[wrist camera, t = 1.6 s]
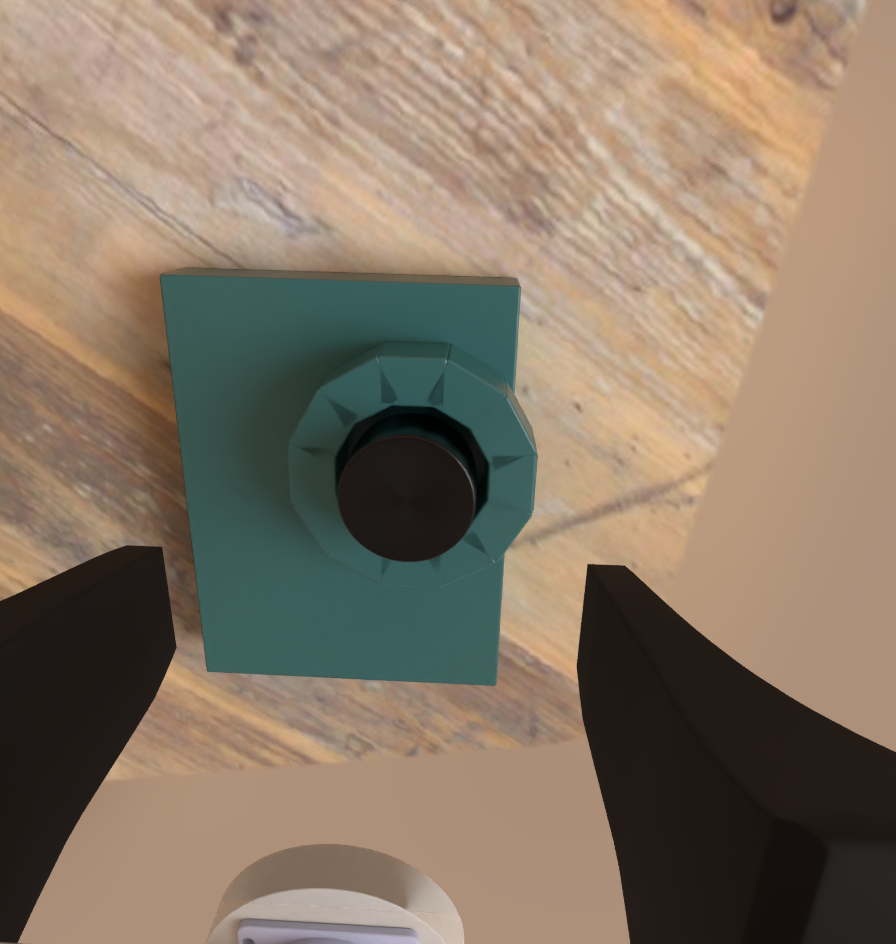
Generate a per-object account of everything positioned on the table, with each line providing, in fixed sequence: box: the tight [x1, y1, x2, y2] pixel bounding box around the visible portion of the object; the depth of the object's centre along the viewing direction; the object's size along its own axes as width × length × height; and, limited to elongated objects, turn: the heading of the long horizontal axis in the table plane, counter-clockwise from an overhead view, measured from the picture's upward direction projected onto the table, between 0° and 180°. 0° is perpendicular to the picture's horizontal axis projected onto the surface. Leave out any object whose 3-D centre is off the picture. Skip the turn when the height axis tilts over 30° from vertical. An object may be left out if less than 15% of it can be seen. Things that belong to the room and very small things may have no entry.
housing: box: [160, 268, 538, 686], centre depth 20 cm, size 12×10×4 cm
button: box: [337, 413, 477, 562], centre depth 17 cm, size 3×3×2 cm
